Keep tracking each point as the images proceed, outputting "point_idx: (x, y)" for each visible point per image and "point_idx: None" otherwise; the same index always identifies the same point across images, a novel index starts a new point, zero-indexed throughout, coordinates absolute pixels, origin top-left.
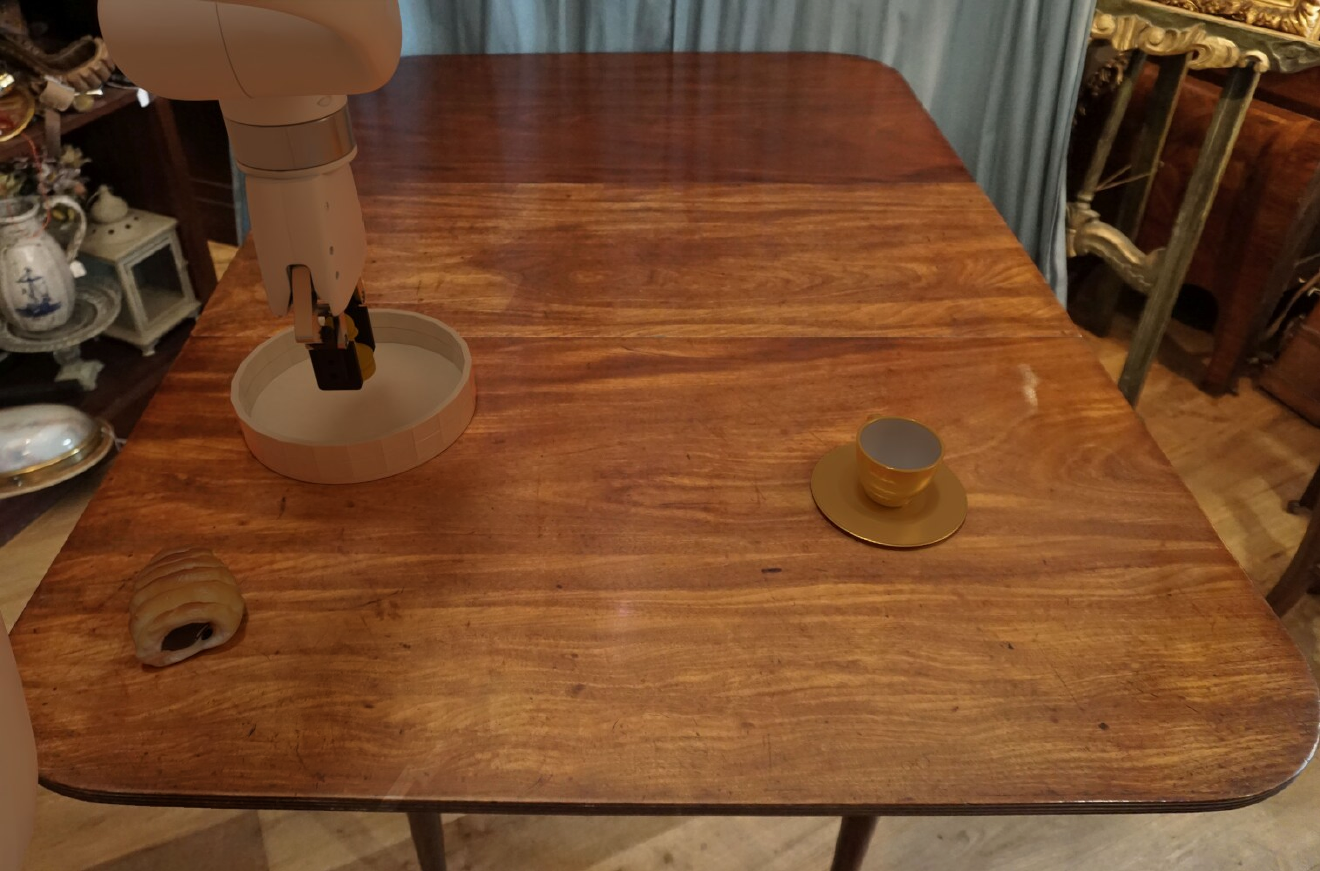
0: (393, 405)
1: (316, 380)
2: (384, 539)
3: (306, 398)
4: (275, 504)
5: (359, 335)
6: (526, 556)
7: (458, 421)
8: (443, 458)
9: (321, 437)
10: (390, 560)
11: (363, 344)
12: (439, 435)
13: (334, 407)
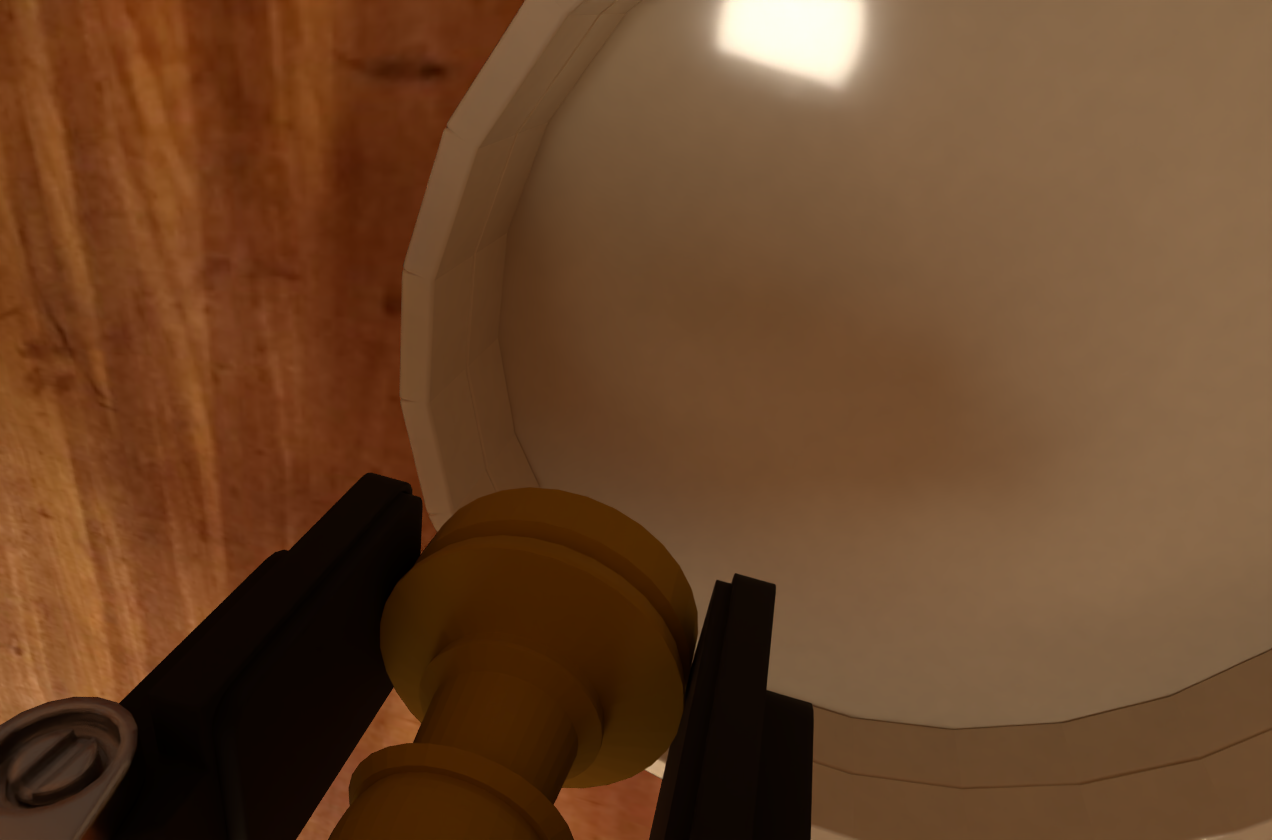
0: (863, 500)
1: (339, 500)
2: (259, 384)
3: (1075, 153)
4: (408, 38)
5: (659, 804)
6: None
7: None
8: None
9: (735, 225)
10: (191, 390)
11: (637, 768)
12: None
13: (939, 284)
